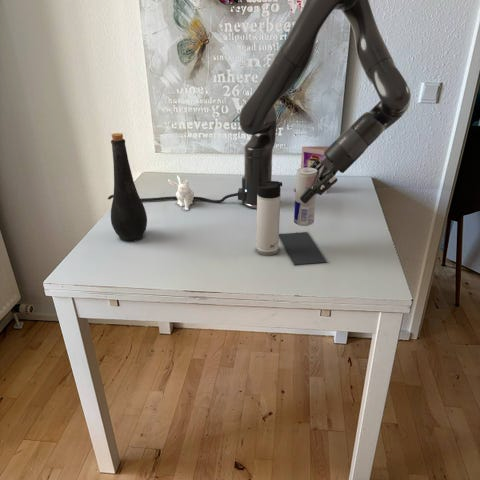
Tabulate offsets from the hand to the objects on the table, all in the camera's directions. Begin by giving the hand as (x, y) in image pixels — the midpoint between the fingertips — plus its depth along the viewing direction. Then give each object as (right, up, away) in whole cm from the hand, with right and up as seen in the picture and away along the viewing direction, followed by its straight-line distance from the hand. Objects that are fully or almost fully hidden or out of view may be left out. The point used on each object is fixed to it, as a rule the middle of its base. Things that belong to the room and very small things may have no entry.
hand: (299, 197), depth 133 cm
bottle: (-49, -8, +16) cm, 52 cm away
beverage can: (+2, -6, +5) cm, 8 cm away
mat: (+2, -13, +9) cm, 16 cm away
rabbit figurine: (-36, +7, +39) cm, 54 cm away
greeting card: (+13, +16, +52) cm, 56 cm away
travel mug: (-8, -14, +8) cm, 18 cm away
